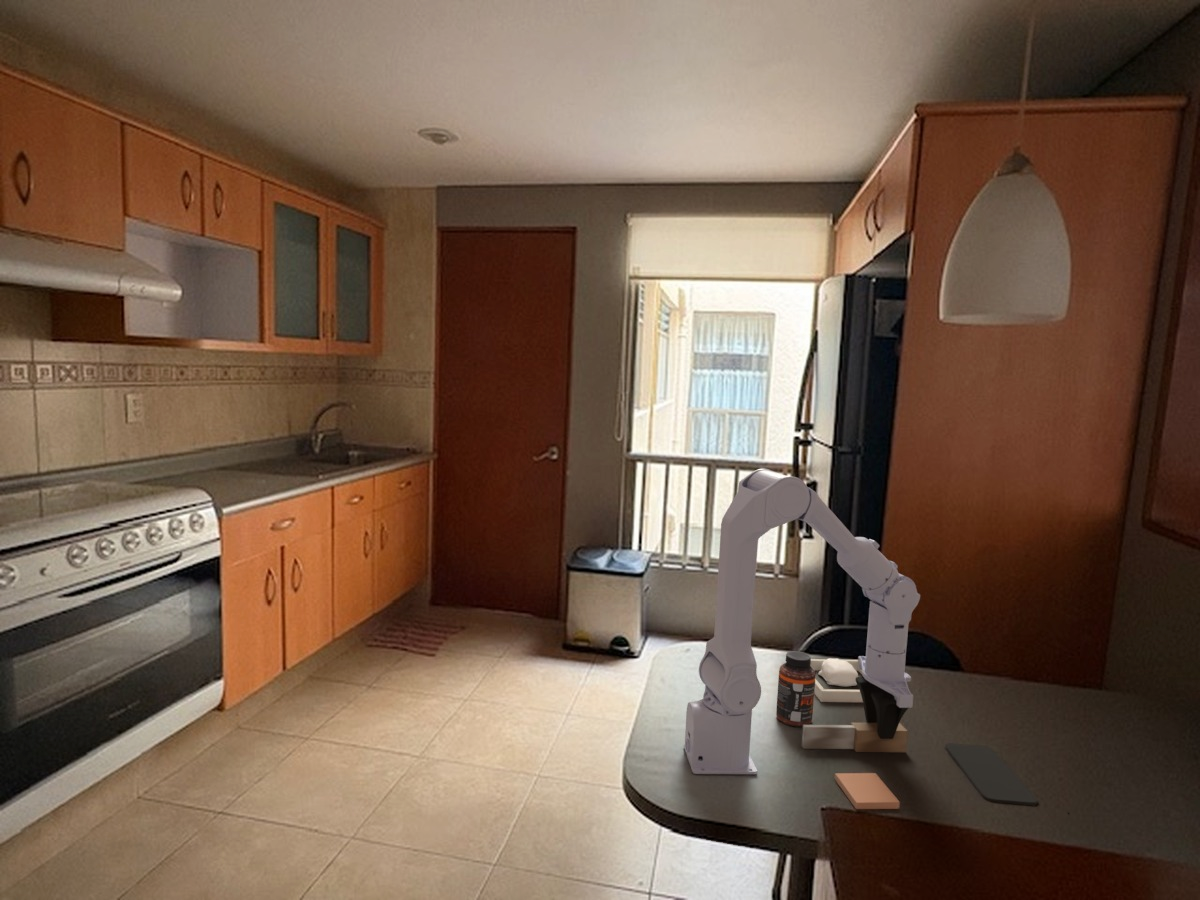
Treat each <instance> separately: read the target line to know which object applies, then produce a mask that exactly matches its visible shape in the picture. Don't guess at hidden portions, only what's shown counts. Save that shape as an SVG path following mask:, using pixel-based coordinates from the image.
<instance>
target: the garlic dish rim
mask: <svg viewBox="0 0 1200 900" xmlns="http://www.w3.org/2000/svg"><path fill="white" fill-rule="evenodd" d="M827 659H828V658H823V659H821V658H818V659H817V658H811V664H810V666H811V668H812V669H813V670H814V671H821V669H822V664H823V662H824V661H825V660H827ZM843 660H844V661H847V662H848V663H850V664H851V665H852V666H853V668H854V669H855V670H856V671H857V672H858V673H860V675H861V676H863V673H862V670H861V669H859V668H858V659H843ZM814 696H816V698H817V699H818V700H819V701H820V703H863V700H862V696H861V693H860V690H859V689H841V688H840V689H835V688H833V689H831V688H830V689H828V688H824V687H823V686H822V685H821V684H820V682H819V681H818V680H817V679H816V678H815V689H814Z"/></svg>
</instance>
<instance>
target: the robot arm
mask: <svg viewBox="0 0 1200 900" xmlns="http://www.w3.org/2000/svg"><path fill="white" fill-rule="evenodd" d="M795 520H799V521H802V522H805V523H806V524H807V525H809V526H810V527H811V529H813V530H814V532H816V533H817V534H818V535H819V536H820V537H821V538H823V539H824V541H826V542H827V543H828V544H829V545H830V546H831V547H832V548H833V549H835V550H836V552H837V554H836V562H837V563H838V565H839V566H840V567H841V568H842V569H843V570H844V571H845V572H846V573H847V575H849V576H850V577H851V578H852V580H854V581H855V582H856V583H857V584H858V585H859V586H860V587H861V590H862V593H863V596H864V597H866V598H868V599H869V600H870V601H869V608H868V622H867V635H866V636H867V637H866V647H865V649H866V650H865V656H864V655H859V656H858V657H857V660H858V668H859V669H861V670H862V673H863V675H862V676H858V677H856V683H857V685H856V686H857V687H858V690H860V693H861V696H862V700H863V702H862V704H863V709H864V710H863V711H864V715H865V723H877V731H878V736H879V737H880V738H881V739H893V737H894V735H895V733H896V730H897V727H898V725H899V723H901V720H902V718H903V717H904V715H905V713H906V712H907V711H908V710H909V708H911V709H912V708H913V704H914V695H913V693H911V691H910V689H909V685H908V682H911V681H912V676H911V675H910V674H908V673H907V672H905V670H906V661H907V660H906V657H907V646H908V633H909V624H910V622H911V621H912V613H913V611H914V610H915V609H916V607H917V606H918V604H919V602H920V600H921V594H920V593H918V590H917V585H916V583H915V582H914V580H913V579H912V578H910V577H908V576H906V575H903V574H901V573H900V572H899V571H898V564H896V562H894V561H892V560H889V559H888V558H886V556H885V555H884V554H883V553H882V552H881V551H880V550H879V548H880V544H879V543H878V542H877V541H876V540H874V539H871V538H869V539H868V538H867V537H864V536H854V535H853V533H851V531H850V530H849V529H848V528H847V527H846V526H845V524H844V523H843V522H842V521H841V520H840V519H839V518H838V517H837V516H836V514H835V513H834V512H833V511H832V510H831V509H830V507H829V506H828V505H827V503H825V502H824V500H823V499H822V498H821V497H820V495H819V494H818V493H817V492H816V491H815V490H813V489H812V488H811V487H808V486H807V484H806V483H805V482H804V481H803V480H802V479H801V478H799V477H797V476H792V475H791V476H790V475H785V474H782V473H778V472H776V471H774V470H771V469H768V468H759V469H756V470H754V471H752V472H751V473H749V474H747V475H746V476H745V477H744V478H743V479H741V480H740V481H739V482H738V488H737V492H736V494H735V496H734V498H733V499H732V501H731V503H730V505H729V506H728V508H727V509H726V511H725V512H724V515H723V516H722V519H721V523H720V524H721V525H720V537H719V538H720V540H719V551H718V552H719V554H718V570H717V582H716V583H717V585H716V587H717V588H716V600H715V618H714V622H715V623H714V631H713V632H714V633H713V634H714V635H713V637H712V638H711V639H709V640H708V641H706V644H705V652H704V655H703V656H702V658H701V660H700V662H699V667H698V675H699V678H700V681H702V683H703V684H704V685H705V686H704V692H703V697H702V699H699V700H695V701H689V702H687V706H686V711H685V712H686V713H685V714H686V716H685V717H686V718H685V735H684V743H683V748H684V751H685V754H686V757H687V760H688V763H689V766H690V768H691V772H692V773H693V774H694V775H757V774H758V768H757V766H756V765H755V763H754V761H753V759H752V757H751V755H750V747H751V733H752V732H751V731H752V730H751V729H752V715H753V709H754V708H755V707H756V706H757V705H758V703H759V702H760V699H761V695H762V685H761V682H760V681H759V679H758V675H757V674H758V673H757V667H758V665H757V661H756V658H755V654H754V651H753V648H752V645H751V644H752V629H753V619H754V618H753V617H754V615H753V614H754V603H755V602H754V600H755V589H756V588H755V586H756V571H757V555H758V542H759V539H760V538H761V537H763V536H764V535H765V534H767V533H768V532H770V530H772V529H774V528H777V527H780V526H782V525H785V524H787V523H790V522H793V521H795Z"/></svg>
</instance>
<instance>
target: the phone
mask: <svg viewBox="0 0 1200 900" xmlns="http://www.w3.org/2000/svg"><path fill="white" fill-rule="evenodd" d="M944 749H945V751H946V752H947V753H948V755H949V756H950V757H951V759H952V760H953V761H954V763H955V764H956V765H957V766H958V767H959V769H960V770H961V771H962V773H963V774H964V775H965V777H966V778H967V779H968V780H969V782H970V783H971V784H972V786H973V787H974V788H975V790H976V791H977V792H978V794H979V795H980V796H981V797H982V799H984V800H986V801H988V802H992V803H1001V804H1014V805H1025V806H1036V805H1038V798H1037V797H1036V796H1035V795H1034V794H1033V793H1032V792H1031V790H1030V789H1029V788H1028V787H1027V785H1025V784H1024V782H1023V781H1022V780H1021V779H1020V778H1019V777H1018V775H1016V773H1015V772H1014V771H1013V770H1012V769H1011V768H1010V767H1009V765H1008V764H1007V763H1006V762H1005V761H1004V760H1003V759H1002V758H1001V756H1000V755H999V754H998V753H997V752H996V751H995V750H994V749H993V748H991V747H990V746H987V745H980V744H979V745H977V744H968V743H967V744H966V743H951V742H948V743H946V744H945V748H944Z"/></svg>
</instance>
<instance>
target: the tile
mask: <svg viewBox="0 0 1200 900" xmlns="http://www.w3.org/2000/svg"><path fill="white" fill-rule="evenodd" d="M834 781H835V782H836V783H837V785H838V786H839V787H840V789H841V790H842V792H843V793H844V795H845V796H846V797H847V799H848V800H849V801H850V803H851V804H852V805H853V807H854V808H855V810H883V809H884V810H886V809H887V810H893V809H895V810H899V809H900V804H901V803H900V801H899V800H898V798H897V797H896V796H895V795H894V793H893V792H892V791H891V790H890V789H889V787H887V785H886V784H885V782H884V781H883V780H882V779H881V778H880V776H879V775H878V774H877V773H876V772H855V773H853V772H850V773H849V772H844V773H843V772H842V773H841V772H838V773H834Z"/></svg>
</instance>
